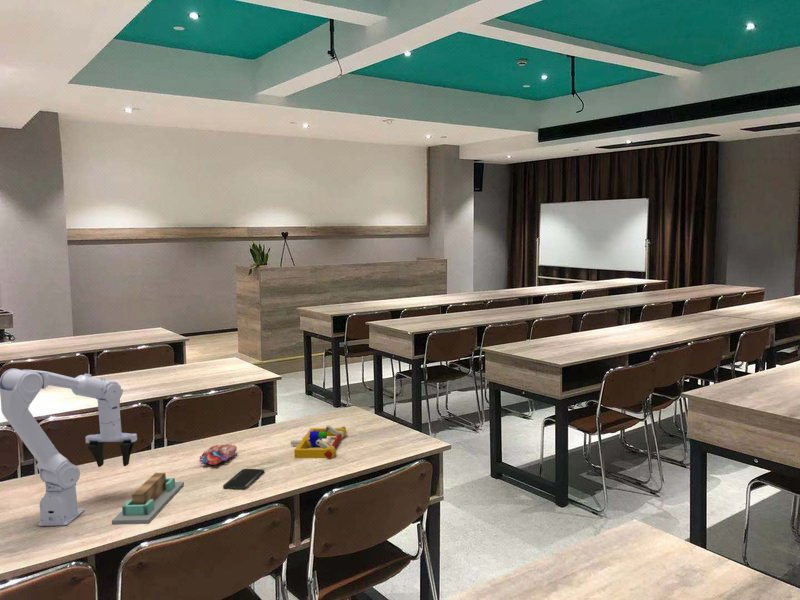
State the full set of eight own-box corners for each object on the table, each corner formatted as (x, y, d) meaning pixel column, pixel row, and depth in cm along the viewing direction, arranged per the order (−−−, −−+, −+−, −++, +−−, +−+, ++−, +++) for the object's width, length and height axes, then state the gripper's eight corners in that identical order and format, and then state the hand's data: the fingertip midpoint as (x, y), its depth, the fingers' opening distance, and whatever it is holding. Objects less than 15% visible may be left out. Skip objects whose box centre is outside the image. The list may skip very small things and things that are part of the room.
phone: (265, 469, 202) (245, 487, 187) (265, 472, 202) (245, 491, 187) (242, 468, 204) (221, 486, 189) (243, 471, 204) (221, 490, 189)
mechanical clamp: (348, 417, 241) (332, 443, 211) (348, 433, 241) (333, 460, 212) (301, 417, 242) (280, 443, 213) (302, 433, 243) (281, 460, 213)
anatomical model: (206, 457, 220) (192, 464, 206) (208, 441, 221) (195, 446, 206) (236, 460, 220) (225, 467, 206) (238, 444, 221) (227, 450, 206)
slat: (143, 511, 172) (142, 494, 172) (133, 511, 172) (131, 494, 172) (166, 488, 188) (165, 472, 188) (156, 488, 188) (155, 472, 188)
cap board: (148, 523, 167) (147, 510, 167) (112, 524, 167) (111, 511, 167) (184, 485, 193) (183, 474, 193) (152, 485, 193) (151, 474, 193)
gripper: (140, 416, 188) (143, 459, 189) (92, 417, 188) (96, 461, 189) (129, 423, 181) (133, 468, 182) (80, 424, 181) (84, 469, 182)
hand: (113, 465), depth 185 cm, fingers open, 7 cm apart
